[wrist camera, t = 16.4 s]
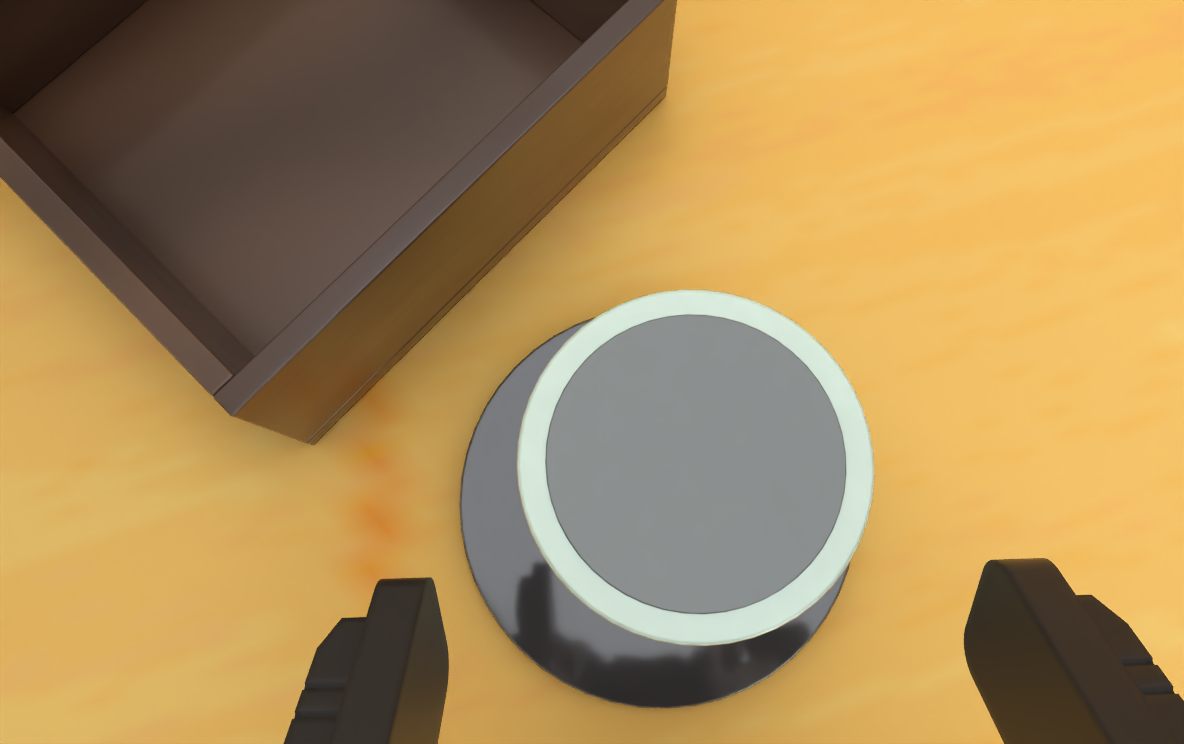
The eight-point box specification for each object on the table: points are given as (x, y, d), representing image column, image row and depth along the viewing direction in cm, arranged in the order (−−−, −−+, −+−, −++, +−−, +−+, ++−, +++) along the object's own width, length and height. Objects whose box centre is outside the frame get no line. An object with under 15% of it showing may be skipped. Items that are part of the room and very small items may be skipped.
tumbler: (518, 505, 22) (441, 466, 12) (652, 364, 23) (680, 220, 13) (666, 648, 21) (711, 731, 11) (799, 496, 22) (950, 448, 12)
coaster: (383, 507, 23) (377, 506, 22) (642, 242, 24) (643, 234, 24) (670, 797, 21) (672, 804, 20) (931, 489, 22) (939, 487, 22)
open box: (-3, 125, 26) (-151, 22, 21) (342, -167, 28) (283, -322, 23) (313, 446, 23) (230, 416, 18) (666, 96, 25) (679, -16, 20)
